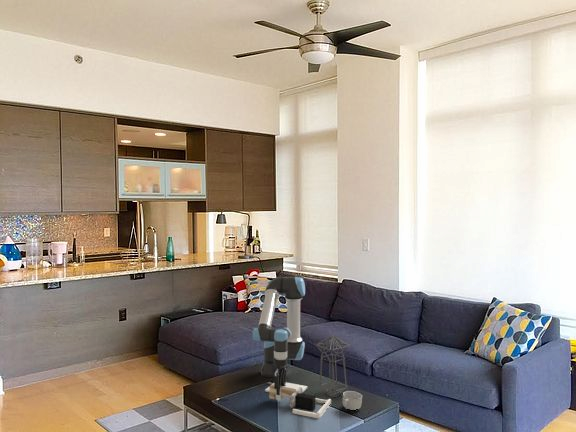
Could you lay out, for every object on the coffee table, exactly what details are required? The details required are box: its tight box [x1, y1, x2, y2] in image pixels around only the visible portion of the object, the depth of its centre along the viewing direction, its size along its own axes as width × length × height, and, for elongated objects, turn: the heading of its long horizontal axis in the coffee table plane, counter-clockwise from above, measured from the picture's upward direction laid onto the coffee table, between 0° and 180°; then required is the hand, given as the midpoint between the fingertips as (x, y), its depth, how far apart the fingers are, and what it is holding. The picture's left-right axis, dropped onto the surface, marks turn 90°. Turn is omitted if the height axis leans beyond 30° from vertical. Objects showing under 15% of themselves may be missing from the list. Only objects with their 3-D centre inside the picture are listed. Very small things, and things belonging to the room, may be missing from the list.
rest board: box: [264, 381, 308, 393], centre depth 293 cm, size 16×21×1 cm
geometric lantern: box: [315, 335, 351, 397], centre depth 286 cm, size 16×16×35 cm
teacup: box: [342, 390, 363, 411], centre depth 266 cm, size 14×11×8 cm
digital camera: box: [294, 392, 316, 412], centre depth 267 cm, size 10×5×7 cm, turn 66°
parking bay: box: [292, 397, 332, 419], centre depth 267 cm, size 19×15×3 cm
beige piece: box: [268, 383, 302, 409], centre depth 273 cm, size 14×17×7 cm
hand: (280, 398), depth 274 cm, fingers closed on beige piece, 3 cm apart
